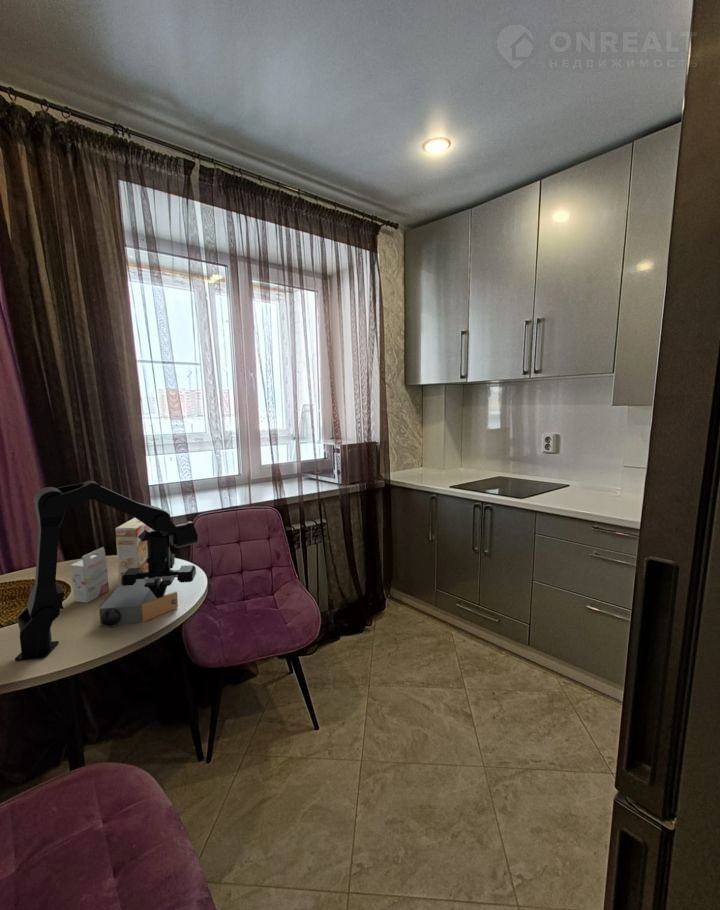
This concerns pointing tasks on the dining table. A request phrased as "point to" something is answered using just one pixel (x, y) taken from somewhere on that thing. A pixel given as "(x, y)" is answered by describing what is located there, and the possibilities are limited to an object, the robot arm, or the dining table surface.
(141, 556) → the coffeecake box
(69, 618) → the dining table surface
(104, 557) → the ink cartridge box
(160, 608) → the side door
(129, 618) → the box
